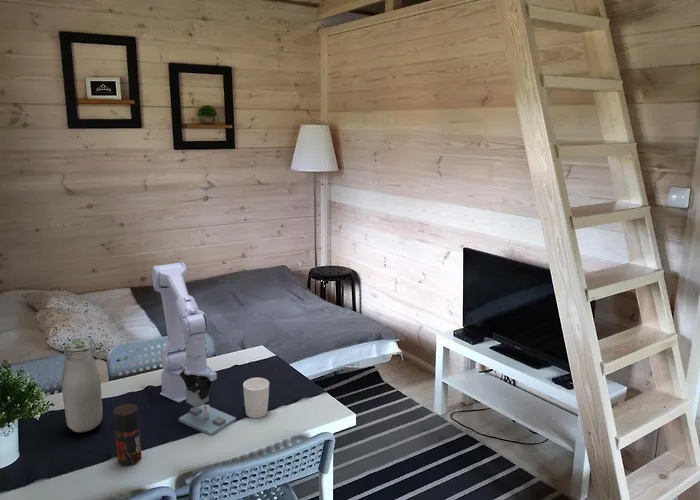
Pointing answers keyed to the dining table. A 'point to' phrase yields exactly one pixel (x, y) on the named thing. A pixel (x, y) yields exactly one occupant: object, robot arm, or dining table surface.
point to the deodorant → (127, 434)
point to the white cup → (256, 397)
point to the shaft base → (207, 419)
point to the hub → (194, 396)
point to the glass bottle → (81, 387)
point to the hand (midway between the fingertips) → (198, 395)
